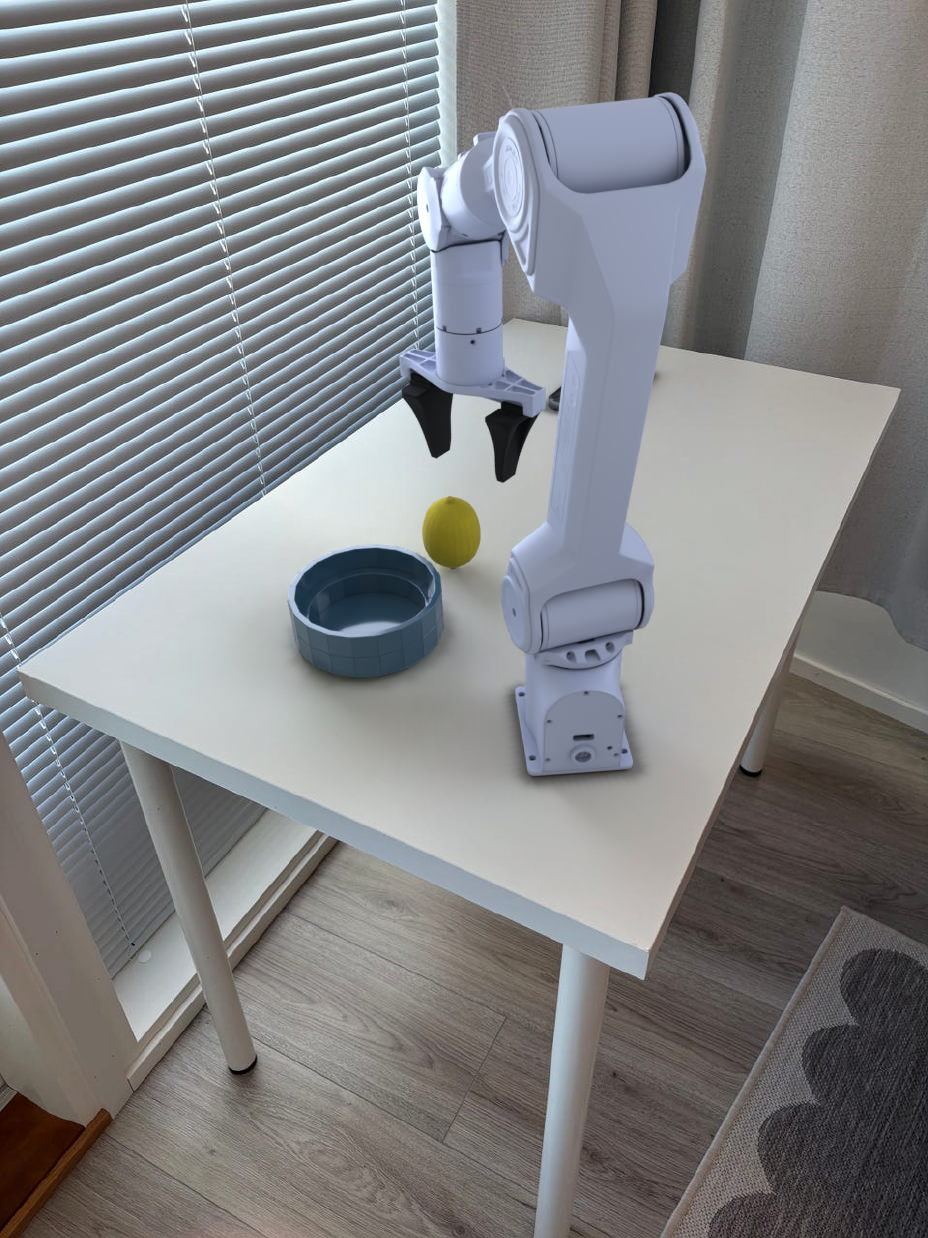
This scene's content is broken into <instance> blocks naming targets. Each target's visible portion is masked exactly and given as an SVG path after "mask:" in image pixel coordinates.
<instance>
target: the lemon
mask: <svg viewBox="0 0 928 1238" xmlns="http://www.w3.org/2000/svg"><path fill="white" fill-rule="evenodd" d="M421 528H422V529H421V530H422V531H421V532H422V534H421V535H422V543H423V546H424V550H425V552H426V553H427V555H428V557H429V558H430V560H431V561H433V562H434V563H435V564H437V565H439V566H442V567H444V568H447V569H452V570H455V569H456V568H460V567H464V566H465V565H467V564H468V563H470V562H471V561H472V560H473V559H474V557H475V556H476V555H477V553H478V551H479V548H480V546H481V545H480V544H481V539H482V538H481V537H482V535H481V531H482V530H481V524H480V519H479V517H478V514H477V512H476V510H475V509H474V507H473V506H472V505H471V504H470V503H469V502H467V500H464V499H463V498H460V497H456V496H452V495H448V496H446V497H441V498H439V499H437V500H436V501H434V502H433V503H432V504H431V505H430V506H429V507H428V509H427V510H426V513H425V516H424V518H423V521H422V527H421Z"/></svg>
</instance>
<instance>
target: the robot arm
mask: <svg viewBox="0 0 928 1238" xmlns="http://www.w3.org/2000/svg"><path fill="white" fill-rule="evenodd" d="M472 139H473V140H472V141H473V146H472V147H471V148H470V149H469V150H465V151H461V152H460V153H459V154H458V155H457V160H456V161H455V162H454V163H453V164H451V165H450V166H445V167H437V168H435V167H432V166H423V167H422V169H421V171H420V173H419V175H418V177H417V185H416V186H417V188H416V200H417V202H416V203H417V212H418V214H417V215H418V220H419V223H420V224H419V226H420V229H421V233H422V237H423V239H424V242H425V244H426V246H427V248H428V249H429V257H430V259H429V260H430V272H431V273H430V274H431V275H430V276H431V293H432V311H433V328H434V329H433V330H434V346H435V351H426V350H422V349H421V350H420V349H417V348H411V349H410V350H408V351H405V352H404V353H402V354H400V355H398V356H399V357H398V358H399V371H400V376H401V377H404V378H407V379H410V380H409V382H408V383H409V384H406V385H405V386H403V387H402V388H401V398H402V399H403V401H405V403H406V404H407V405H408V407H409V408H410V410H411V412H412V413H413V415H414V416H415V418H416V420H417V423H418V424H419V427H420V429H421V431H422V433H423V437H424V440H425V442H426V445H427V448H428V451H429V454H430V457H431V458H433V459H438V458H440V457H442V456H443V455H444V454H446V453H447V452H449V451H451V446H452V408H453V400H454V395H460V396H469V397H477V398H483V399H486V400H488V401H492V402H496V403H499V404H500V408H497V409H495V410H494V411H492V412H491V413H489V414H487V415H486V416H485V417H484V422H485V424H486V426H487V429H488V432H489V434H490V438H491V443H492V447H493V448H492V449H493V459H494V460H493V463H494V474H495V479H496V481H497V482H499V483H501V484H503V483H506V482H507V481H508V480H510V479H512V478H513V477H514V476H515V475H517V469H518V465H519V461H520V457H521V454H522V451H523V448H524V445H525V443H526V440H527V438H528V435H529V433H530V431H531V430H532V427H533V426H534V424H535V422H536V421H537V419H538V417H539V416H540V414H541V412H543V411H544V410H546V403H547V402H546V400H547V399H546V398H547V388H546V387H545V386H541V385H538V384H537V383H533V382H532V381H530V380H528V379H527V378H525V377H523V376H522V375H520V374H518V373H517V372H515V371H514V370H512V369H510V368H508V367H507V366H506V359H505V357H504V335H503V334H504V328H503V327H504V324H503V323H504V321H503V319H504V317H503V313H504V312H503V267H504V266H505V265H507V264H508V260H509V245H510V244H509V243H510V242H511V244H512V247H513V249H514V252H515V255H516V258H517V260H518V262H519V265H520V268H521V270H522V272H523V273H524V274H525V276H526V279H527V282H528V284H529V287H530V290H531V293H532V294H533V295H535V296H538V297H539V298H542V299H543V300H546V301H548V302H551V303H553V304H555V305H557V306H560V307H562V308H564V309H565V311H566V312H567V315H568V324H567V334H566V342H565V350H564V351H565V353H564V361H563V370H562V378H561V379H562V380H561V386H562V387H561V386H560V387H561V396H560V405H559V411H558V415H557V424H556V432H555V442H554V450H553V460H552V468H551V469H552V470H551V478H550V485H549V486H550V487H549V497H548V505H547V514H546V521H544V523H543V524H541V525H540V526H539V527H537V528H536V529H535V530H533V531H532V532H531V533H530V534H529V535H527V536H526V537H525V538H523V539H522V540H521V541H519V542H518V543H517V544H516V545H515V546H514V547H513V548H512V549H511V552H510V559H509V561H508V567H507V570H506V571H505V573H504V576H503V577H502V580H501V581H500V582H501V583H500V588H499V589H500V590H499V591H500V592H499V593H500V594H499V595H500V605H501V610H502V615H503V619H504V623H505V627H506V630H507V632H508V634H509V637H510V639H511V641H512V643H513V644H514V646H515V647H516V648H517V649H519V650H520V651H522V653H524V654H525V655H524V656H525V659H524V667H525V668H524V685H521V686H517V687H515V689H514V696H515V702H516V710H517V714H518V715H517V716H518V722H519V727H520V728H519V729H520V734H521V741H522V746H523V752H524V759H525V765H526V772H527V773H528V775H529V776H531V777H537V776H538V777H539V776H540V777H541V776H551V775H553V776H554V775H565V774H566V775H567V774H579V773H592V772H606V771H618V770H619V771H620V770H629V769H631V768H632V767H633V766H634V759H633V756H632V751H631V749H630V748H631V747H630V744H629V741H628V738H627V737H628V736H627V733H626V730H625V723H626V722H625V721H626V706H625V705H626V704H625V702H624V699H623V695H622V691H621V686H620V682H621V671H622V670H621V669H622V660H623V652H624V651H623V649H624V648H625V647H626V646H630V645H632V644H633V640H634V631H638V630H641V629H644V628H645V627H647V626H648V625H649V622H650V620H651V617H652V616H653V615H652V614H653V613H654V608H655V590H654V589H655V588H654V570H655V561H654V559H653V556H652V553H651V552H650V550H649V548H648V546H647V544H646V542H645V540H644V539H643V537H642V536H641V535H640V533H639V532H638V531H637V529H636V528H634V526H632V525H630V523H628V522H626V521H627V517H628V511H629V506H630V501H631V495H632V491H633V486H634V481H635V475H636V471H637V465H638V460H639V455H640V451H641V450H640V449H641V444H642V440H643V434H644V430H645V425H646V419H647V414H648V409H649V403H650V398H651V393H652V389H653V383H654V380H655V379H654V378H655V373H656V368H657V363H658V357H659V353H660V347H661V342H662V337H663V332H664V326H665V322H666V318H667V317H666V315H667V310H668V303H669V296H670V287H671V286H672V285H673V284H674V283H675V282H676V281H677V280H678V279H679V278H680V277H681V276H682V275H684V273H685V272H686V270H687V268H688V261H689V257H690V252H691V247H692V243H693V238H694V235H695V229H696V224H697V220H698V215H699V210H700V205H701V199H702V195H703V190H704V185H705V181H706V175H707V165H706V160H705V155H704V150H703V146H702V143H701V138H700V132H699V128H698V124H697V122H696V120H695V117H694V115H693V113H692V111H691V110H690V107H689V106H688V104H687V103H686V101H685V100H684V99H683V98H682V97H681V95H679V94H677V93H674V92H670V91H669V92H663V93H658V94H655V95H653V96H651V97H646V98H645V97H643V98H633V99H625V100H624V99H623V100H615V101H605V102H597V103H587V104H577V105H568V106H567V105H566V106H557V107H550V108H548V107H547V108H540V109H539V108H538V109H530V110H529V109H527V108H525V107H516V108H515V107H514V108H511V109H510V110H508V112H507V113H506V114H505V115H502V116H501V117H499V120H498V128H497V129H496V130H495V131H486V132H478V133H477V134H476V135H475V136H474V137H473V138H472Z"/></svg>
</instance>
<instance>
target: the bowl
mask: <svg viewBox="0 0 928 1238" xmlns="http://www.w3.org/2000/svg"><path fill="white" fill-rule="evenodd" d="M442 589H443V588H442V578H441V575H440V573H439V571H438V570H437V568H436V567H435V566H434V564H433V563H432V562H431V561H429V560H428V559H426V557H424V556H423V555H421V554H420V553H417V552H415V551H412V550H410V549H407V548H403V547H400V546H395V545H388V544H387V545H386V544H377V543H376V544H375V543H374V544H360V545H352V546H348V547H344V548H340V549H336V550H333V551H329V552H328V553H325V554H323V555H322V556H320V557H317V558H315V559H314V560H312V561H310V562H309V563H308V564H307V565H305V566H304V567H303V568H301V570H299V571H298V572H297V573H296V574H295V576H294V578H293V580H292V581H291V583H290V585H289V586H288V593H287V606H288V610H289V616H290V621H291V627H292V631H293V637H294V641H295V644H296V647H297V649H298V651H299V653H300V655H301V656H303V657H304V658H305V659H306V660H307V661H308V662H309V663H310V664H311V665H312V666H314V667H316V668H318V669H320V670H322V671H324V672H327V673H329V674H332V675H335V676H336V675H337V676H343V677H351V678H368V677H381V676H385V675H389V674H392V673H396V672H399V671H403V670H405V669H407V668H410V667H411V666H413V665H414V664H417V663H418V662H420V661H422V660H424V659H425V658H426V657H427V656H428V655H429V654H430V653H431V652H432V651H433V650H434V649H435V648H436V647H437V646H438V644H439V643H440V639H441V637H442V634H443V632H444V630H445V625H444V607H443V590H442Z"/></svg>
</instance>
